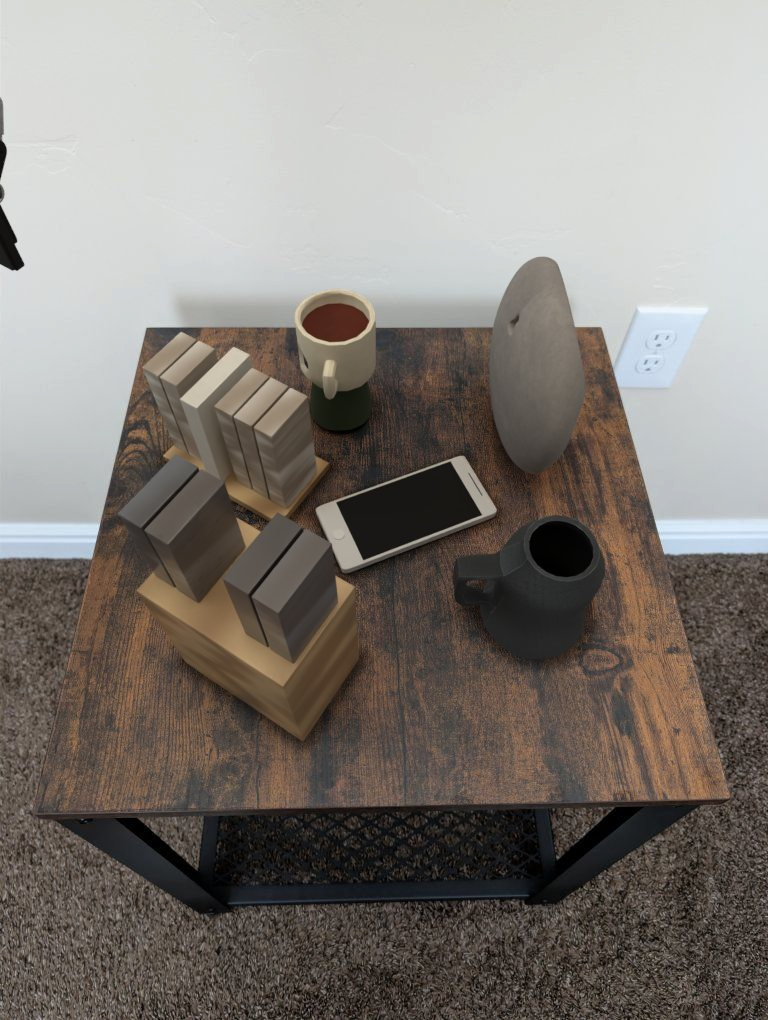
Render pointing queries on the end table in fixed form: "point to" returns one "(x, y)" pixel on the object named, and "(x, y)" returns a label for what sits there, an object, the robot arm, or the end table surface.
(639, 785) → the end table surface
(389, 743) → the end table surface
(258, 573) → the wooden stand
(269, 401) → the grey-brown wooden block stand
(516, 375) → the grey oval stone
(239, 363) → the grey flat block
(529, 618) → the mug
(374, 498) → the smartphone
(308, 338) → the character mug
